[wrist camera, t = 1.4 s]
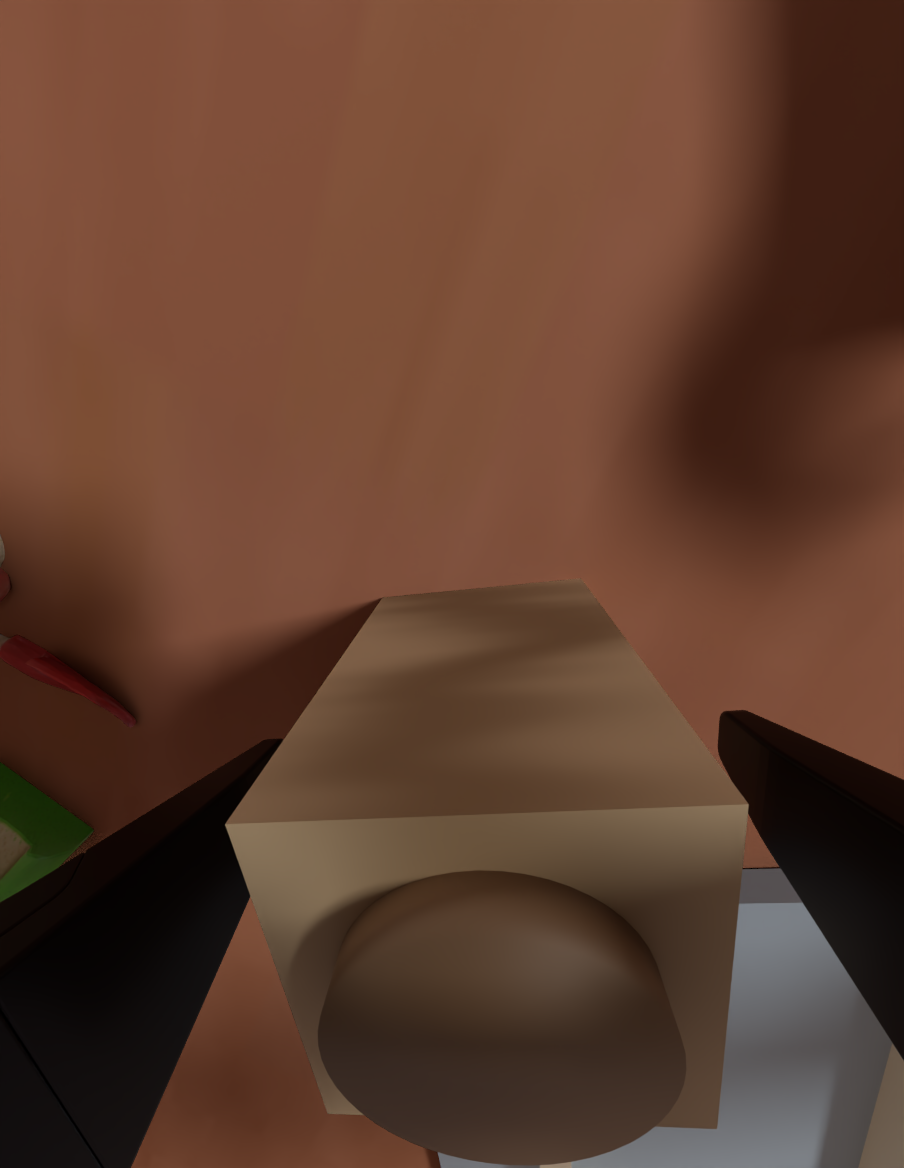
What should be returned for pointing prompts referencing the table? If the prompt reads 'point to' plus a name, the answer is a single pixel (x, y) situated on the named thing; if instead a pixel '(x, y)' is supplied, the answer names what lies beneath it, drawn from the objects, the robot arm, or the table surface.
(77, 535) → the table surface
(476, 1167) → the keyhole board
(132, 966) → the robot arm
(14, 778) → the toy garden set
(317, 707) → the stud block
